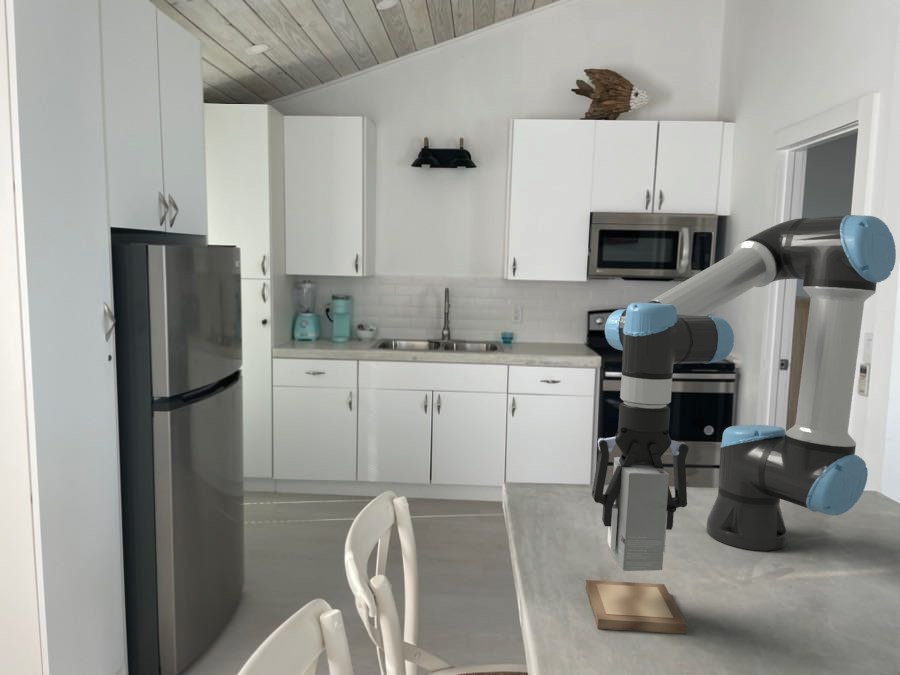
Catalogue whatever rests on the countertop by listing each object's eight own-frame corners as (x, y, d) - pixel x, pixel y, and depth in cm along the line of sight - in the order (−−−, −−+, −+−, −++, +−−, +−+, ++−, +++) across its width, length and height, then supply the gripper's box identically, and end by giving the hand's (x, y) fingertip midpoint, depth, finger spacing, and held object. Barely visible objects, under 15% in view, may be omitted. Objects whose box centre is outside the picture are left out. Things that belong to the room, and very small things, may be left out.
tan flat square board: (663, 592, 115) (664, 583, 114) (685, 633, 102) (686, 623, 101) (585, 588, 115) (586, 579, 115) (597, 628, 102) (598, 618, 102)
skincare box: (606, 550, 112) (607, 456, 110) (649, 549, 112) (651, 454, 110) (622, 573, 103) (623, 471, 102) (669, 571, 104) (670, 469, 102)
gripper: (702, 401, 108) (692, 541, 111) (576, 395, 109) (569, 534, 112) (718, 411, 101) (707, 560, 103) (583, 405, 102) (575, 553, 104)
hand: (635, 546), depth 107 cm, fingers closed on skincare box, 7 cm apart
